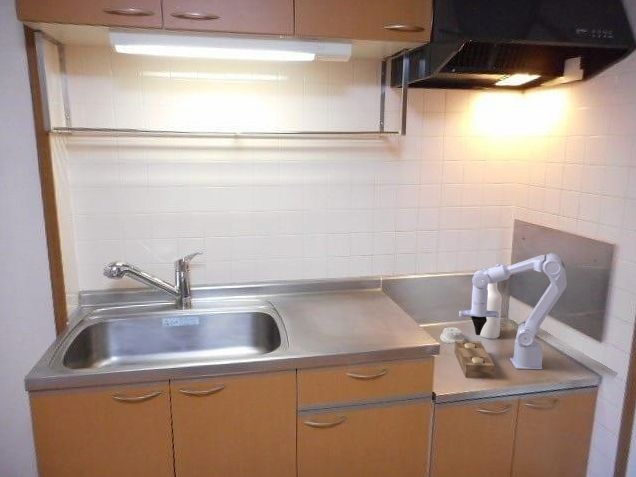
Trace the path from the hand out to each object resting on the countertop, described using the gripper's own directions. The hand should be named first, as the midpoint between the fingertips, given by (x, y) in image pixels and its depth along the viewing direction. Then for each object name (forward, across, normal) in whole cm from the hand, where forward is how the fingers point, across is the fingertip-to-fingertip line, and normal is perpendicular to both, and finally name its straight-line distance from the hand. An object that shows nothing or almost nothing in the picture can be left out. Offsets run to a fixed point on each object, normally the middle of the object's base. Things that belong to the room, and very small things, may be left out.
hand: (477, 334), depth 179 cm
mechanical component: (+10, +6, -16) cm, 20 cm away
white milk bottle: (+10, -10, -20) cm, 24 cm away
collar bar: (+9, +3, +7) cm, 12 cm away
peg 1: (+9, +3, +1) cm, 10 cm away
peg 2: (+9, +3, +13) cm, 16 cm away
